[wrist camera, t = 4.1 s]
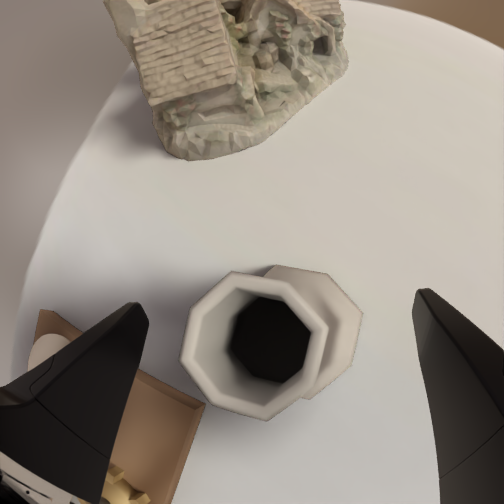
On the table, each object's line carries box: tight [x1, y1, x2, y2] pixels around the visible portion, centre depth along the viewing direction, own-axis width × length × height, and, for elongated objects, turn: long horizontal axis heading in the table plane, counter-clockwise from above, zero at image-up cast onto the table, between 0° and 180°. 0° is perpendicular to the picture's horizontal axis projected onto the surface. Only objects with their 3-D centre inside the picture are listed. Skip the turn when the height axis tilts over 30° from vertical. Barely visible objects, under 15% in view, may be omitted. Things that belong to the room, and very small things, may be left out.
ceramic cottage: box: [103, 0, 349, 162], centre depth 14 cm, size 16×16×15 cm
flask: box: [178, 265, 363, 421], centre depth 11 cm, size 7×7×10 cm
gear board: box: [27, 309, 206, 504], centre depth 14 cm, size 15×22×4 cm
